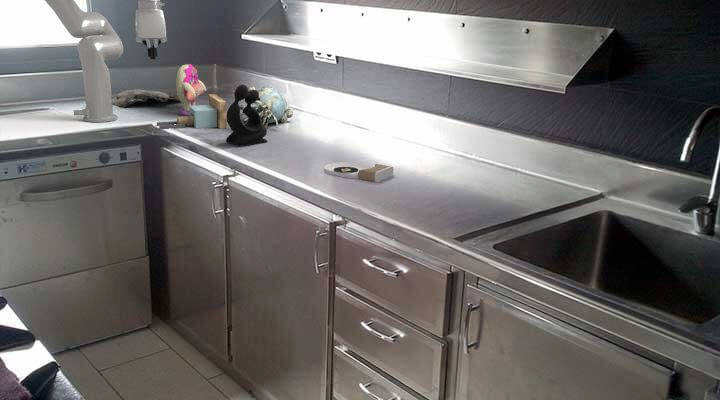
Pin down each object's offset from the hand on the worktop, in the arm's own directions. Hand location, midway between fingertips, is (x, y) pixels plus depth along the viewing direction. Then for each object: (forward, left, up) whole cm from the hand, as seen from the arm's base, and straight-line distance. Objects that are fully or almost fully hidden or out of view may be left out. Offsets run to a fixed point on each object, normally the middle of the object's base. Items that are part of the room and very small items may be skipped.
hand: (152, 58), depth 250 cm
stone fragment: (+5, +52, -26) cm, 58 cm away
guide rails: (+5, 0, -25) cm, 26 cm away
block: (+17, 0, -25) cm, 30 cm away
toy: (+18, +25, -25) cm, 40 cm away
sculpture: (+40, -8, -25) cm, 48 cm away
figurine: (+25, -34, -25) cm, 49 cm away
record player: (+44, -82, -26) cm, 97 cm away
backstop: (+23, 0, -25) cm, 34 cm away
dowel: (+13, +2, -25) cm, 28 cm away
